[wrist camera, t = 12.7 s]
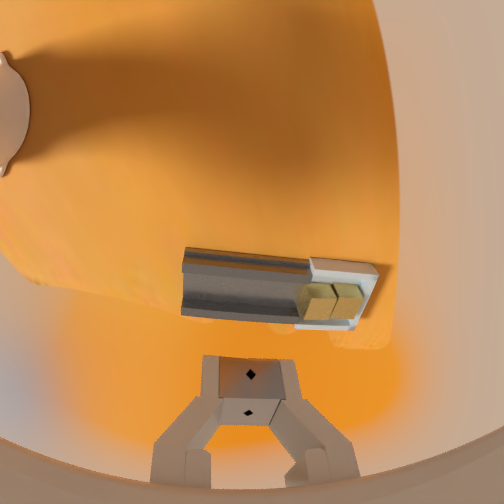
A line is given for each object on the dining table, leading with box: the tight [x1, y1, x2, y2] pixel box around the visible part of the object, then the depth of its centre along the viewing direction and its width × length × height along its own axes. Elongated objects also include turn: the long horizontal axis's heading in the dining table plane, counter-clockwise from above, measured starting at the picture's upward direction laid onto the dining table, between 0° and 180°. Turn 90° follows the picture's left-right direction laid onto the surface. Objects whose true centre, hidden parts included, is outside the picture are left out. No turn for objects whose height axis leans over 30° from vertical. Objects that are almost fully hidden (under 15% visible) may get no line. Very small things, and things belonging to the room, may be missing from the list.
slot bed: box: [181, 247, 313, 324], centre depth 43 cm, size 17×10×3 cm, turn 81°
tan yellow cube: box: [297, 283, 337, 320], centre depth 43 cm, size 4×4×4 cm
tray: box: [294, 257, 379, 330], centre depth 44 cm, size 10×11×3 cm
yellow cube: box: [330, 282, 364, 319], centre depth 44 cm, size 4×4×4 cm
